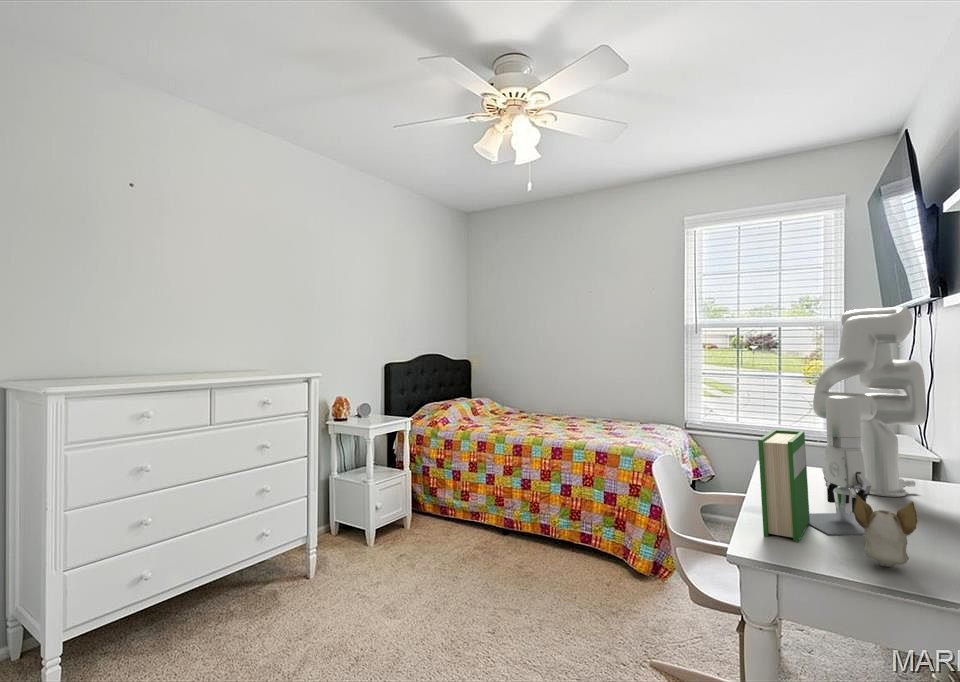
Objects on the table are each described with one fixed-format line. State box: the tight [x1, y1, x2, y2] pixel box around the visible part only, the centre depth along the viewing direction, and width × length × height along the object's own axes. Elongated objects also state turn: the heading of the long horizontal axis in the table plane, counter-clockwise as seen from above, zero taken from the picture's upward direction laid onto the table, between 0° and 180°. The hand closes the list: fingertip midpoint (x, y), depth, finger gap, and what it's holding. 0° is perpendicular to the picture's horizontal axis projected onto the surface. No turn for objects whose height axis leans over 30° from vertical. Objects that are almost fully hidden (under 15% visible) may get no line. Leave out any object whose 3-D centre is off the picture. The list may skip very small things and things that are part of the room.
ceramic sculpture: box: [853, 494, 918, 568], centre depth 109 cm, size 11×9×15 cm
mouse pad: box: [808, 512, 911, 536], centre depth 136 cm, size 20×16×1 cm
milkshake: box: [833, 486, 854, 524], centre depth 136 cm, size 5×5×10 cm
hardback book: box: [757, 429, 810, 543], centre depth 133 cm, size 18×7×24 cm, turn 140°
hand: (846, 507), depth 136 cm, fingers open, 9 cm apart
